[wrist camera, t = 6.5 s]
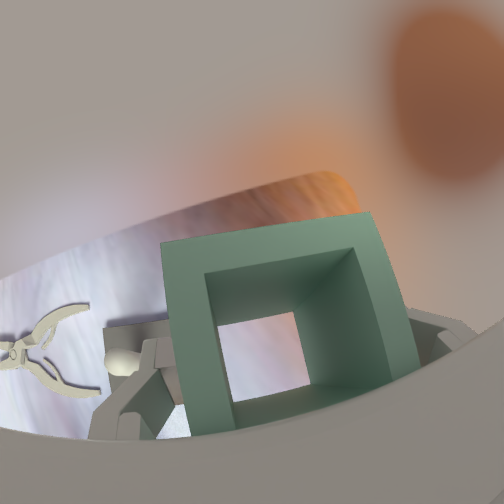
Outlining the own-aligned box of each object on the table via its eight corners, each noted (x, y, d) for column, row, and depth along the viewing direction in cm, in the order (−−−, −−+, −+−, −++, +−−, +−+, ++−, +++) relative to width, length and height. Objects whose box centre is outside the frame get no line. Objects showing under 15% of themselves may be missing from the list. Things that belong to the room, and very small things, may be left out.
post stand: (118, 408, 22) (79, 417, 15) (106, 329, 25) (66, 312, 18) (197, 400, 23) (182, 413, 16) (181, 319, 26) (162, 298, 19)
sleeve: (217, 424, 12) (204, 481, 5) (194, 310, 14) (160, 243, 7) (332, 396, 13) (428, 407, 6) (305, 289, 15) (369, 211, 8)
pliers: (96, 397, 21) (-1, 395, 19) (103, 396, 23) (7, 396, 20) (84, 300, 25) (-7, 315, 23) (90, 304, 26) (0, 318, 24)
